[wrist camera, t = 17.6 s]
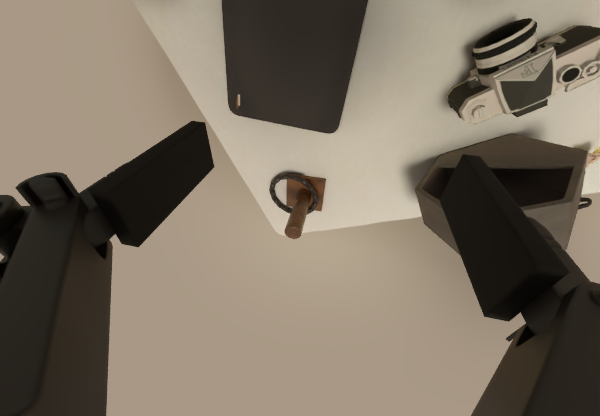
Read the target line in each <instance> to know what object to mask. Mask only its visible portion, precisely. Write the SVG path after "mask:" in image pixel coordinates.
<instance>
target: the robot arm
mask: <svg viewBox="0 0 600 416" xmlns="http://www.w3.org/2000/svg"><path fill="white" fill-rule="evenodd" d="M213 168H214V164H213V159H212V154H211V150H210V145H209V140H208V135H207V130H206V125H205V123H204V122H196V121H191V122H190V123H188V124H187V125H185V126H183V127H182V128H180V129H179V130H177V131H176V132H174V133H173V134H171V135H170V136H168V137H167V138H165V139H164V140H162V141H161V142H159V143H158V144H156V145H154V146H153V147H151V148H150V149H148V150H147V151H145V152H144V153H142V154H141V155H139V156H138V157H136V158H135V159H133V160H132V161H130V162H128V163H126V164H124V165H122V166H121V167H119V168H117V169H116V170H115V171H114V172H111V173H110V174H108V175H107V177H103V178H102V179H100V180H99V181H97V182H96V183H94V184H93V185H91V186H90V187H88V188H86V189H85V190H83V191H82V192H80V193H78V192H77V190H76V189H75V188H74V186H73V184H72V183H71V181H70V180H69V178H68V177H67V175H65V174H63V173H57V172H54V173H45V174H41V175H37V176H34V177H31V178H29V179H26V180H25V181H23V182H21V183H20V184H19V185H18V186H17V187H16V189H17V190H18V192H19V193H20V194H21V195H22V196H23V197H24V198H25V200H26V201H27V202H28V203H29V204H30V206H21V205H20V204H19V203H18V202H17V201H16V200H15V199H14V197H12V196H9V195H0V253H1V254H2V255H3V256H4V258H3V259H2V261H0V416H106V404H107V378H108V352H109V326H110V301H111V299H110V298H111V274H112V248H113V247H112V243H111V241H110V240H109V239H110V238H111V237H112V236H113V235H114V234H116V235H117V237H118V238H119V240H120V242H121V243H122V244H125V245H130V246H135V247H139V246H140V245H141V244H142V243H143V242H144V241H145V240H146V239H147V238H148V237H149V236H150V234H151V233H152V232H153V231H154V230H155V229H156V228H157V227H158V226H159V225H160V224H161V223H162V222H163V221H164V220H165V218H167V217H168V215H169V214H170V213H171V212H172V211H173V210H174V209H175V208H176V207H177V206H178V205H179V204H180V203H181V202H182V201H183V199H184V198H185V197H186V196H187V195H188V194H189V193H190V192H191V191H192V190H193V189H194V188H195V187H196V186H197V185H198V184H199V182H201V181H202V179H203V178H204V177H205V176H206V175H207V174H208V173H209V172H210V171H211V170H212V169H213ZM439 201H440V204H441V206H442V209H443V211H444V214H445V216H446V219H447V222H448V224H449V227H450V229H451V232H452V235H453V237H454V240H455V242H456V245H457V247H458V250H459V253H460V255H461V258H462V260H463V263H464V265H465V268H466V270H467V273H468V276H469V278H470V281H471V283H472V286H473V289H474V291H475V294H476V296H477V299H478V301H479V304H480V307H481V309H482V312H483V314H484V316H485V317H489V318H494V319H499V320H504V321H510V320H511V319H513V318H514V317H515V316H516V315H517V314H519V313H520V312H521V314H522V316H523V318H524V320H525V321H526V324H525V325H523V326H522V327H521V328H519V329H518V330H516V331H515V332H514V333H512V334H511V335H510V336H508V337H507V338H506V340H508V341H511V340H512V339H513V341H512V343H511V344H510V346H509V348H508V350H507V352H506V354H505V355H504V357H503V359H502V361H501V363H500V364H499V366H498V368H497V370H496V372H495V374H494V375H493V377H492V379H491V380H490V382H489V384H488V386H487V388H486V390H485V391H484V393H483V395H482V397H481V399H480V400H479V402H478V404H477V406H476V408H475V409H474V411H473V413H472V415H471V416H600V284H598V283H594V282H590V281H589V279H588V278H587V277H586V276H585V274H584V273H583V272H582V271H581V270H580V268H579V267H578V266H577V265H576V264H575V263H574V261H573V260H572V259H571V258H570V256H569V255H568V254H567V253H566V251H565V250H562V247H561V245H560V244H559V243H558V242H557V241H555V238H554V237H553V236H552V234H551V233H550V232H549V231H548V230H547V228H546V227H544V226H543V225H542V224H540V223H539V222H538V221H536V220H535V219H534V218H532V217H527V216H526V215H525V213H524V212H523V211H522V210H521V208H520V207H519V206H518V204H517V203H516V202H515V201H514V199H513V198H512V197H511V195H510V194H509V193H508V192H507V190H506V189H505V188H504V186H503V185H502V184H501V183H500V181H499V180H498V179H497V177H496V176H495V175H494V174H493V172H492V171H491V170H490V168H489V167H488V166H487V165H486V163H485V162H484V161H483V159H482V158H481V157H480V156H474V155H466V154H462V156H461V158H460V160H459V162H458V164H457V166H456V168H455V170H454V172H453V174H452V176H451V178H450V180H449V182H448V184H447V186H446V188H445V190H444V192H443V194H442V195H441V197H440V199H439Z"/></svg>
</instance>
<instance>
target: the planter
mask: <svg viewBox="0 0 600 416" xmlns="http://www.w3.org/2000/svg"><path fill="white" fill-rule="evenodd" d="M462 154H466V155H474V156H480V157H481V158H482V159H483V161H484V162H485V163H486V165H487V166H488V167H489V168H490V170H491V171H492V172H493V174H494V175H495V176H496V177H497V179H498V180H499V181H500V183H501V184H502V185H503V186H504V188H505V189H506V190H507V192H508V193H509V194H510V195H511V197H512V198H513V199H514V201H515V202H516V203H517V204H518V206H519V207H520V208H521V210H522V211H523V212H524V213H525V215H526V216H527V217H532V218H534V219H535V220H536V221H538V222H539V223H540V224H542V225H543V226H544V227H546V228H547V230H548V231H549V232H550V233H551V234H552V236H553V237H554V238H555V241H557V242H558V243H559V244H560V245H561V247H562V250H566V249H567V246H568V242H569V238H570V235H571V231H572V228H573V224H574V221H575V217H576V214H577V210H578V207H579V203H580V198H581V192H582V186H583V180H584V174H585V168H586V162H587V156H588V152H587V151H584V150H580V149H575V148H571V147H567V146H562V145H558V144H554V143H549V142H545V141H540V140H536V139H532V138H527V137H523V136H518V135H514V134H511V135H507V136H503V137H500V138H496V139H493V140H490V141H486V142H483V143H479V144H476V145H473V146H469V147H466V148H463V149H459V150H456V151H452V152H449V153H446V154H442V155H440V156H439V157H438V159H437V160H436V162H435V163H434V164H433V166H432V167H431V168H430V170H429V171H428V172H427V174H426V175H425V176H424V178H423V179H422V181H421V182H420V183H419V185H418V186H417V187H416V189H415V190H416V194H417V198H418V202H419V206H420V210H421V213H422V217H423V221H424V224H425V225H426V226H427V227H428V228H430V229H431V230H432V231H433V232H434V233H435V234H437V235H438V236H439V237H440V238H441V239H442V240H443V241H444V242H446V243H447V244H448V245H449V246H450V247H451V248H453V249H454V250H455V251H456V252H457V253H458V254H459V255H460V253H459V250H458V247H457V245H456V242H455V240H454V237H453V235H452V232H451V229H450V227H449V224H448V222H447V219H446V216H445V214H444V211H443V209H442V206H441V204H440V201H439V199H440V197H441V195H442V194H443V192H444V190H445V188H446V186H447V184H448V182H449V180H450V178H451V176H452V174H453V172H454V170H455V168H456V166H457V164H458V162H459V160H460V158H461V156H462Z"/></svg>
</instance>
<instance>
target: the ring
mask: <svg viewBox="0 0 600 416" xmlns="http://www.w3.org/2000/svg"><path fill="white" fill-rule="evenodd" d="M283 179H292V180H296V181H299V182H301V183H302V184H303V185H305V186H306V187H307V188H308V189H309V190H310V192H311V193H312V195H313V204H312V206H311V207H310V208H309V209H308V211H307V214H309V213H311V212H312V211H314V210H315V208H316V206H317V204H318V196H317V192H316V190H315V189H314V188H313V186H312V185H311V183H309V182H308V181H306V180H305V179H303V178H302V177H300V176H297V175H293V174H283V175H278V176H277V177H276V178H275V179H274V180H272V181H271V185H270V189H269V190H270V194H271V197H272V200H273V201H274V202H275V203H276V204H277V206H278V207H279V208H281V209H283V210H284V211H286V212H287V213H291V211H292V209H289V208H287V207H286V206H284V205H283V204H281V203H280V201H279V200H278V199H277V197H276V195H275V192H274V188H275V184H276V183H277V182H279V181H280V180H283Z"/></svg>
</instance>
